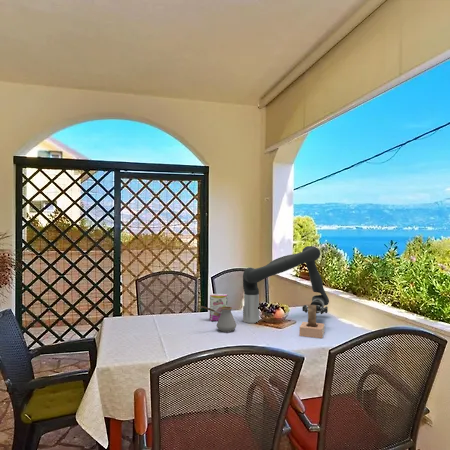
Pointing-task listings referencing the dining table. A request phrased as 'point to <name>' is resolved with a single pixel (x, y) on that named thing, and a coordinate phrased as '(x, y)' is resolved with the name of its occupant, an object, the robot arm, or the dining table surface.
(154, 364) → the dining table surface
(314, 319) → the walnut peg
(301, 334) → the socket block
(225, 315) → the coffee pot
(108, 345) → the dining table surface
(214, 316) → the candy bar box
